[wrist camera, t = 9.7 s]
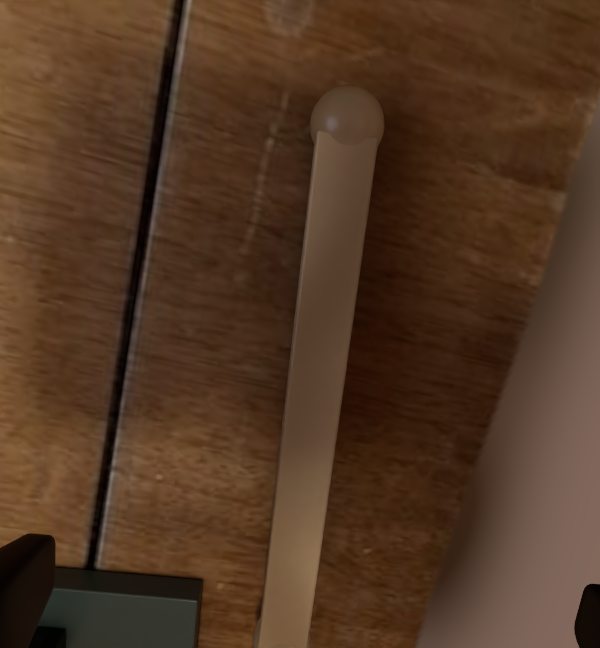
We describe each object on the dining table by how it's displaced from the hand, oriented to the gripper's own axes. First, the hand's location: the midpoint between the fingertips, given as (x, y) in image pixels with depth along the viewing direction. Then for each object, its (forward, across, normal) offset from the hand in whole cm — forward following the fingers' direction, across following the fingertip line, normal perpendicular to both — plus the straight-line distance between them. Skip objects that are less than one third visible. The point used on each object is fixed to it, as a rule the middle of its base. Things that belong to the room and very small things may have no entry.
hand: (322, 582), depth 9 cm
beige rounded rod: (+8, 0, 0) cm, 8 cm away
